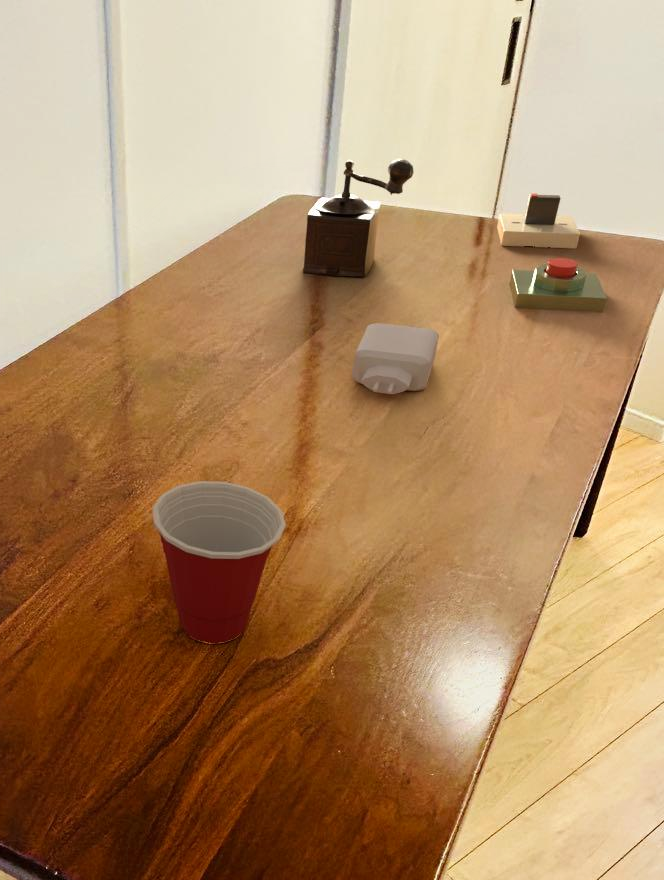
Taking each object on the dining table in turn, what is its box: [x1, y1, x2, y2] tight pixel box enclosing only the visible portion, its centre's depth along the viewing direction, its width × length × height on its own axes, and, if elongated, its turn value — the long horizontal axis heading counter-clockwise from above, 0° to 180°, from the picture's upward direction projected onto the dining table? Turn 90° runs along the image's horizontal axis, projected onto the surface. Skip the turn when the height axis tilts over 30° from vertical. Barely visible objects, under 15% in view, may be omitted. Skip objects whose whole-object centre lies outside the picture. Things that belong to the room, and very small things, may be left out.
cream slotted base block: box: [496, 213, 581, 250], centre depth 157 cm, size 12×10×3 cm
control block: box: [508, 263, 608, 314], centre depth 135 cm, size 12×10×4 cm
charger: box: [351, 322, 440, 395], centre depth 114 cm, size 5×9×15 cm
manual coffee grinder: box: [302, 158, 415, 278], centre depth 144 cm, size 16×11×18 cm
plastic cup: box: [152, 480, 287, 643], centre depth 76 cm, size 11×11×12 cm
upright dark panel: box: [524, 192, 562, 225], centre depth 155 cm, size 5×2×5 cm, turn 76°
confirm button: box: [546, 257, 579, 277], centre depth 133 cm, size 4×4×2 cm
